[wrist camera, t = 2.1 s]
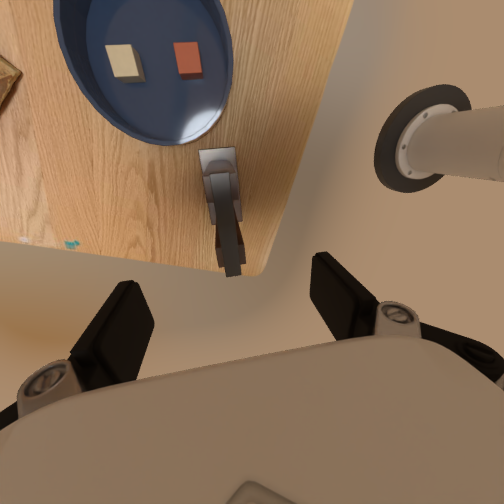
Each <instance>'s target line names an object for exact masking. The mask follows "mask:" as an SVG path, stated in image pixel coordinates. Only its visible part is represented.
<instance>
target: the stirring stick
mask: <svg viewBox="0 0 504 504" xmlns="http://www.w3.org/2000/svg"><path fill="white" fill-rule="evenodd" d="M209 177H210V183H211V189H212V195H213V201H214V207H215V213H216V219H217V225H218V231H219V237H220V243H221V249H222V255H223V261H224V267H225V273H226V277H232V276H238V275H241V266H240V257H239V249H238V241H237V233H236V224H235V216H234V208H233V200H232V192H231V183H230V175H229V171H228V170H221V171H211V172H210V173H209Z"/></svg>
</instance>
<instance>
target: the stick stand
mask: <svg viewBox="0 0 504 504" xmlns="http://www.w3.org/2000/svg"><path fill="white" fill-rule="evenodd" d="M198 152H199V157H200V163H201V168H202V174H203V176H202V178H203V184H204V189H205V195H206V200H207V203H208V207H209V213H210V218H211V224H212V225H216V237H215V250H216V255H217V261H218V266H219V268H220V267H224V261H223V255H222V249H221V243H220V237H219V231H218V225H217V219H216V213H215V207H214V201H213V195H212V189H211V183H210V177H209V173H210V172H211V171H221V170H228V171H229V175H230V183H231V192H232V200H233V208H234V216H235V224H236V233H237V241H238V249H239V257H240V265H241V264H246V257H245V248H244V242H243V238H242V235H241V231H240V227H239V224H238V222H242V221H243V220H242V210H241V201H240V191H239V181H238V172H237V162H236V152H235V147H225V148H214V149H203V150H198Z"/></svg>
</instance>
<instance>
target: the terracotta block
mask: <svg viewBox="0 0 504 504" xmlns="http://www.w3.org/2000/svg"><path fill="white" fill-rule="evenodd" d="M173 45H174V50H175V56H176V61H177V66H178V71H179V74H180V76H181V78H182V80H193V79H203V73H202V66H201V59H200V52H199V47H198V42H179V43H173Z"/></svg>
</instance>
